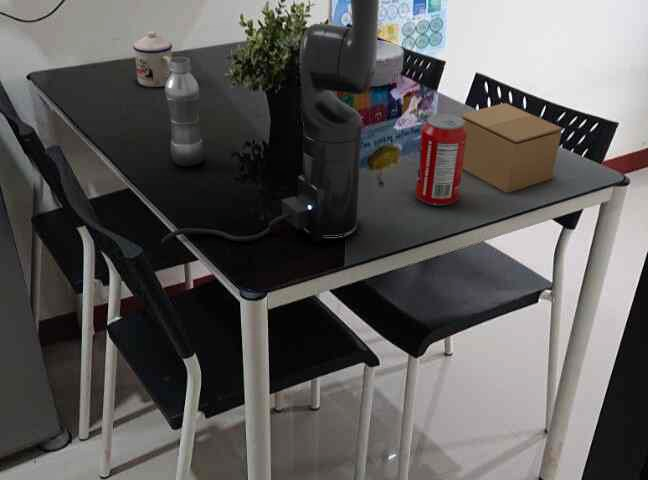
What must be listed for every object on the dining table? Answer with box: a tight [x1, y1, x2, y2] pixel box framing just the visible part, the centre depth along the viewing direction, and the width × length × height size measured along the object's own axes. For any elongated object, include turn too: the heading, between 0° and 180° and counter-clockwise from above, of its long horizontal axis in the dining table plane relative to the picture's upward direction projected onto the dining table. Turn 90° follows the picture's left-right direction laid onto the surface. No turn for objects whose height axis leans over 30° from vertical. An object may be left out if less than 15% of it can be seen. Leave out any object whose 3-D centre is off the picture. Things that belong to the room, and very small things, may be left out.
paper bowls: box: [370, 39, 405, 88], centre depth 192 cm, size 15×15×8 cm
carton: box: [461, 114, 563, 194], centre depth 150 cm, size 15×12×10 cm
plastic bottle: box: [164, 56, 205, 167], centre depth 147 cm, size 6×7×20 cm
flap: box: [460, 102, 533, 129], centre depth 150 cm, size 7×12×1 cm, turn 124°
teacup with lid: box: [132, 31, 173, 88], centre depth 185 cm, size 12×9×12 cm
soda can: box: [415, 113, 467, 207], centre depth 138 cm, size 8×8×15 cm
